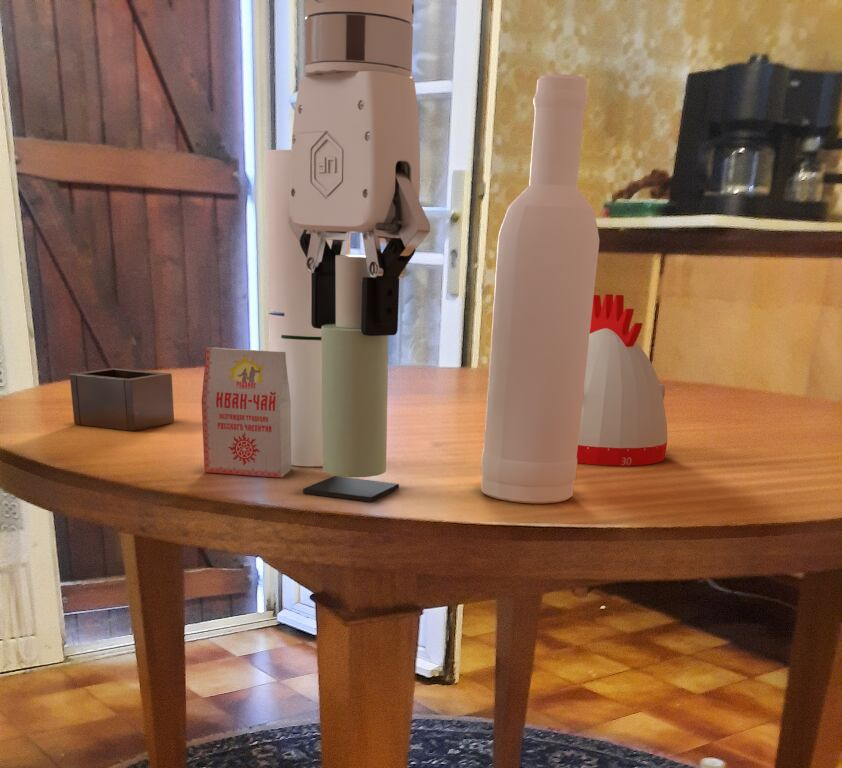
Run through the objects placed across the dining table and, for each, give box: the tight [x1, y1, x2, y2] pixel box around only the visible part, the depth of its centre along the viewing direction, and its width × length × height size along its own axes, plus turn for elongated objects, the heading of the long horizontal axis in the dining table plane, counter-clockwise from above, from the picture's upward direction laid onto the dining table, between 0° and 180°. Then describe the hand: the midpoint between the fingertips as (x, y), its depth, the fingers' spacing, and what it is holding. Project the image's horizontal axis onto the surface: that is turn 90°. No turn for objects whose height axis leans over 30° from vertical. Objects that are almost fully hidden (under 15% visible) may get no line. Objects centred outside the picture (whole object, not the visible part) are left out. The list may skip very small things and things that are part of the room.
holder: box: [69, 367, 175, 432], centre depth 112 cm, size 7×7×5 cm
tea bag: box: [201, 346, 292, 479], centre depth 91 cm, size 4×7×10 cm, turn 83°
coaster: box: [302, 475, 400, 503], centre depth 88 cm, size 6×6×1 cm
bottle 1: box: [321, 254, 389, 478], centre depth 84 cm, size 5×5×16 cm
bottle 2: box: [480, 73, 600, 504], centre depth 84 cm, size 8×8×30 cm
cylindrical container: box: [265, 149, 352, 468], centre depth 94 cm, size 7×7×25 cm
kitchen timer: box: [577, 293, 668, 467], centre depth 107 cm, size 14×14×15 cm
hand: (353, 328), depth 83 cm, fingers closed on bottle 1, 5 cm apart
